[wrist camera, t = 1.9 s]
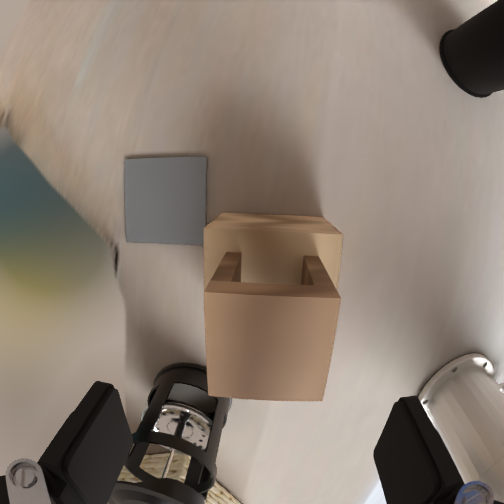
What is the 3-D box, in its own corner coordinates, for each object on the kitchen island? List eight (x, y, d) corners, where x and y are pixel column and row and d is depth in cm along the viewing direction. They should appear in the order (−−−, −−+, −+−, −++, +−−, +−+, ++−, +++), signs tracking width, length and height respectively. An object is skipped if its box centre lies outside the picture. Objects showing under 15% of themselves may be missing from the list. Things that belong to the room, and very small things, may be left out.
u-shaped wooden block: (318, 256, 20) (340, 298, 13) (309, 337, 21) (322, 401, 15) (226, 251, 20) (203, 291, 13) (225, 333, 22) (208, 395, 15)
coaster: (207, 156, 26) (206, 156, 26) (206, 244, 28) (205, 245, 28) (126, 159, 27) (124, 159, 26) (128, 241, 29) (126, 242, 28)
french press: (138, 366, 33) (42, 523, 10) (208, 349, 31) (138, 552, 9) (183, 433, 35) (136, 580, 13) (249, 422, 34) (230, 593, 12)
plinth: (323, 217, 27) (343, 234, 19) (314, 309, 29) (327, 354, 22) (222, 212, 28) (203, 228, 20) (222, 305, 30) (206, 348, 22)
